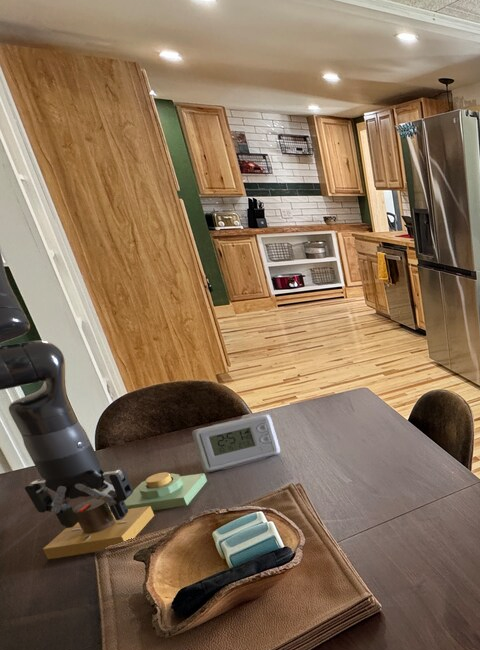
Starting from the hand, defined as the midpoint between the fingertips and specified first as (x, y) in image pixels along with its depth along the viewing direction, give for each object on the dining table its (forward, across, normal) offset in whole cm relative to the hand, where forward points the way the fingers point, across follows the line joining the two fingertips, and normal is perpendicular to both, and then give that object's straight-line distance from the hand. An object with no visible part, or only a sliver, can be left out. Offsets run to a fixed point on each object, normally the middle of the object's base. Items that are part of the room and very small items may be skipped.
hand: (97, 521), depth 93 cm
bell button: (0, -5, -12) cm, 13 cm away
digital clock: (+4, -16, -25) cm, 30 cm away
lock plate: (+4, 0, 0) cm, 4 cm away
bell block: (+4, -5, -12) cm, 14 cm away
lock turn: (+1, 0, 0) cm, 1 cm away
